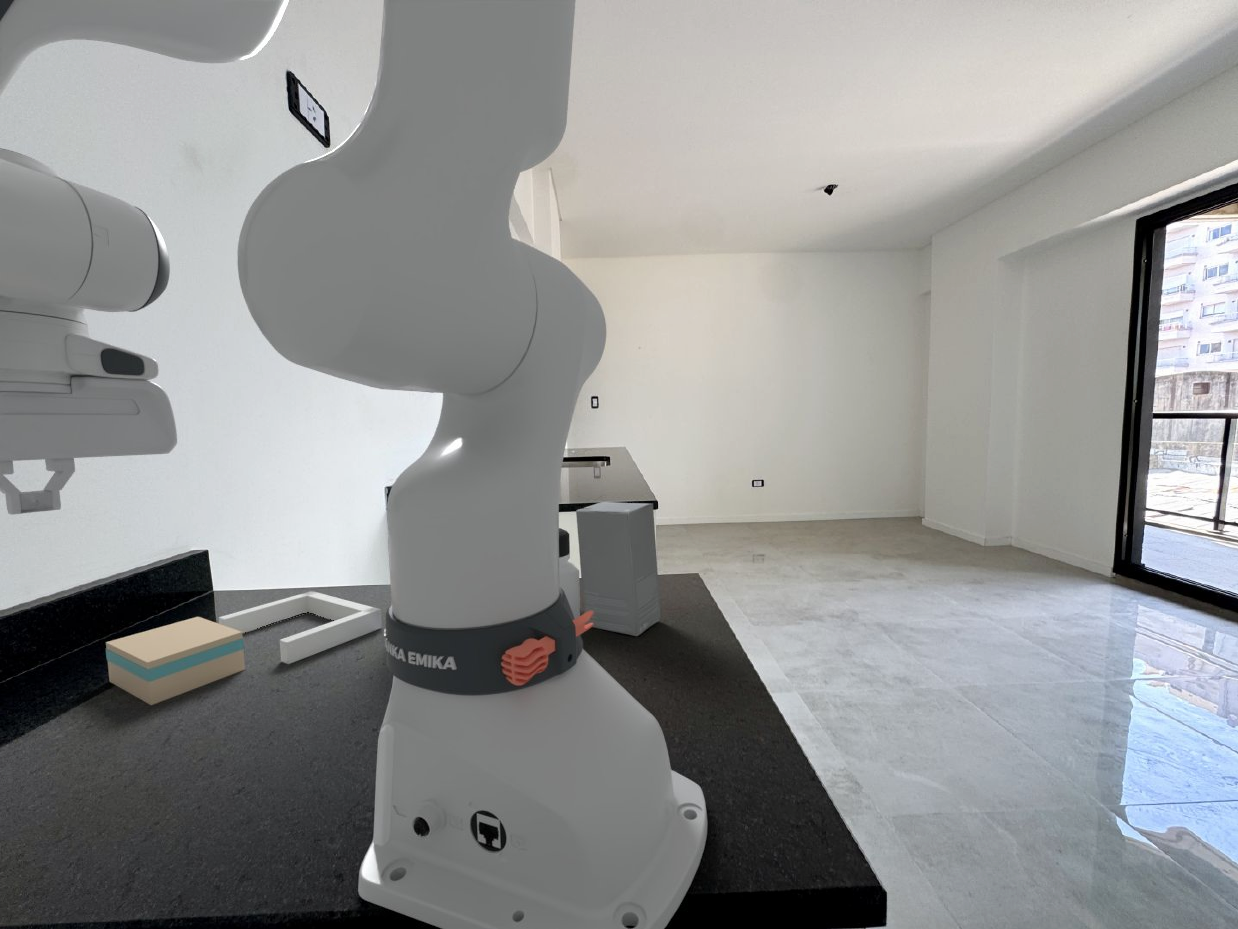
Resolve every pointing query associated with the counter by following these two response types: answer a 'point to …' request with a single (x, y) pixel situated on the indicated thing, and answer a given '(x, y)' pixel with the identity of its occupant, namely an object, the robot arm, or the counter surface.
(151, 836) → the counter surface
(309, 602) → the frame
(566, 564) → the medicine bottle
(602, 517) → the skincare box
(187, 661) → the carton
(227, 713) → the counter surface
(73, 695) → the counter surface
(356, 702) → the counter surface
